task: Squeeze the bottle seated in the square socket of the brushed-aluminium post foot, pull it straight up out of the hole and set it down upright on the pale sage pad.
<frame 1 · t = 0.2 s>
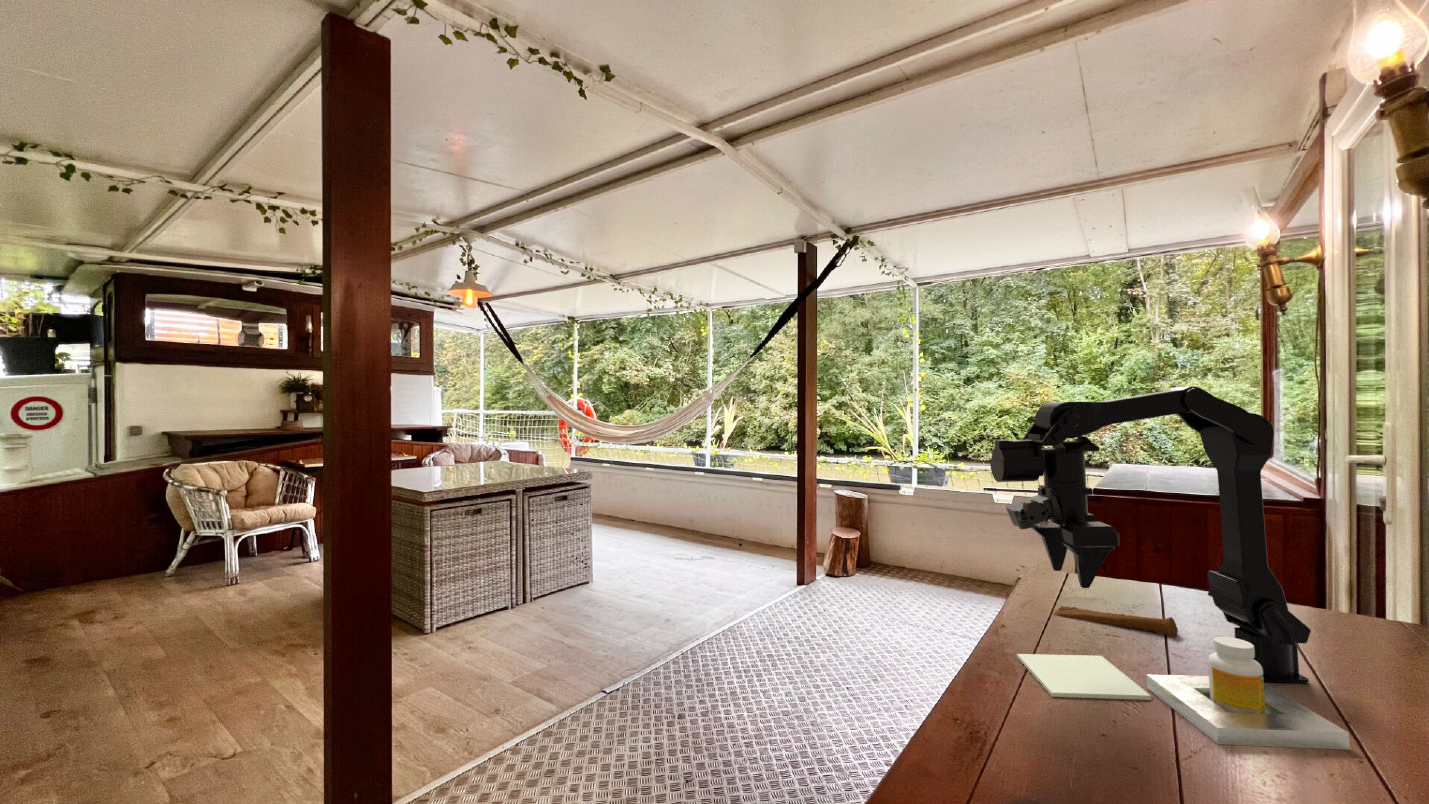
hand: (1070, 578, 89), 14 cm above the table, fingers open, 9 cm apart
post foot: (1237, 715, 75), on the table
primitive tool: (1110, 626, 107), on the table
supplement bottle: (1237, 717, 75), resting in post foot
sage pad: (1078, 676, 87), on the table
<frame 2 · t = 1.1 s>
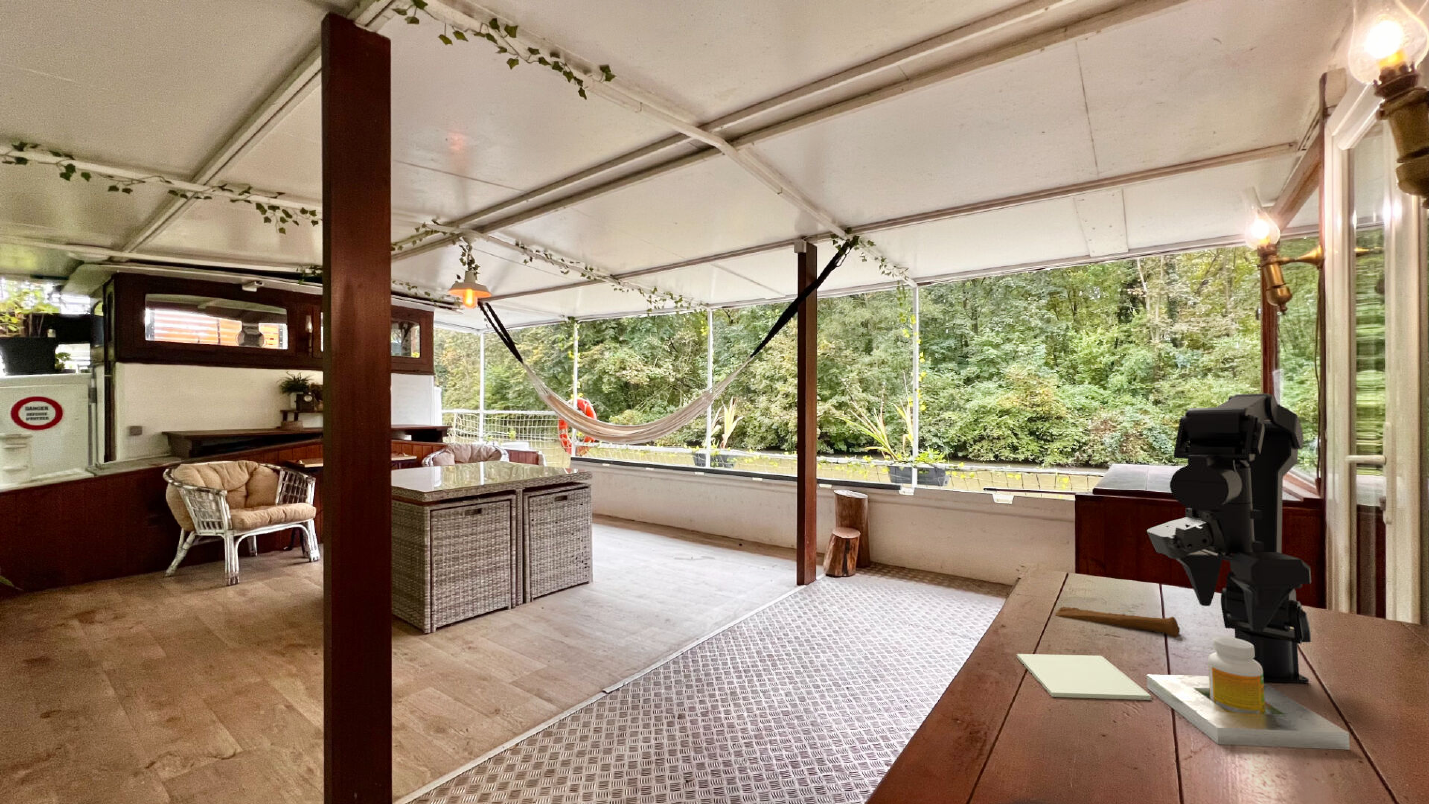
hand: (1229, 617, 75), 13 cm above the table, fingers open, 9 cm apart
nothing on the table moved.
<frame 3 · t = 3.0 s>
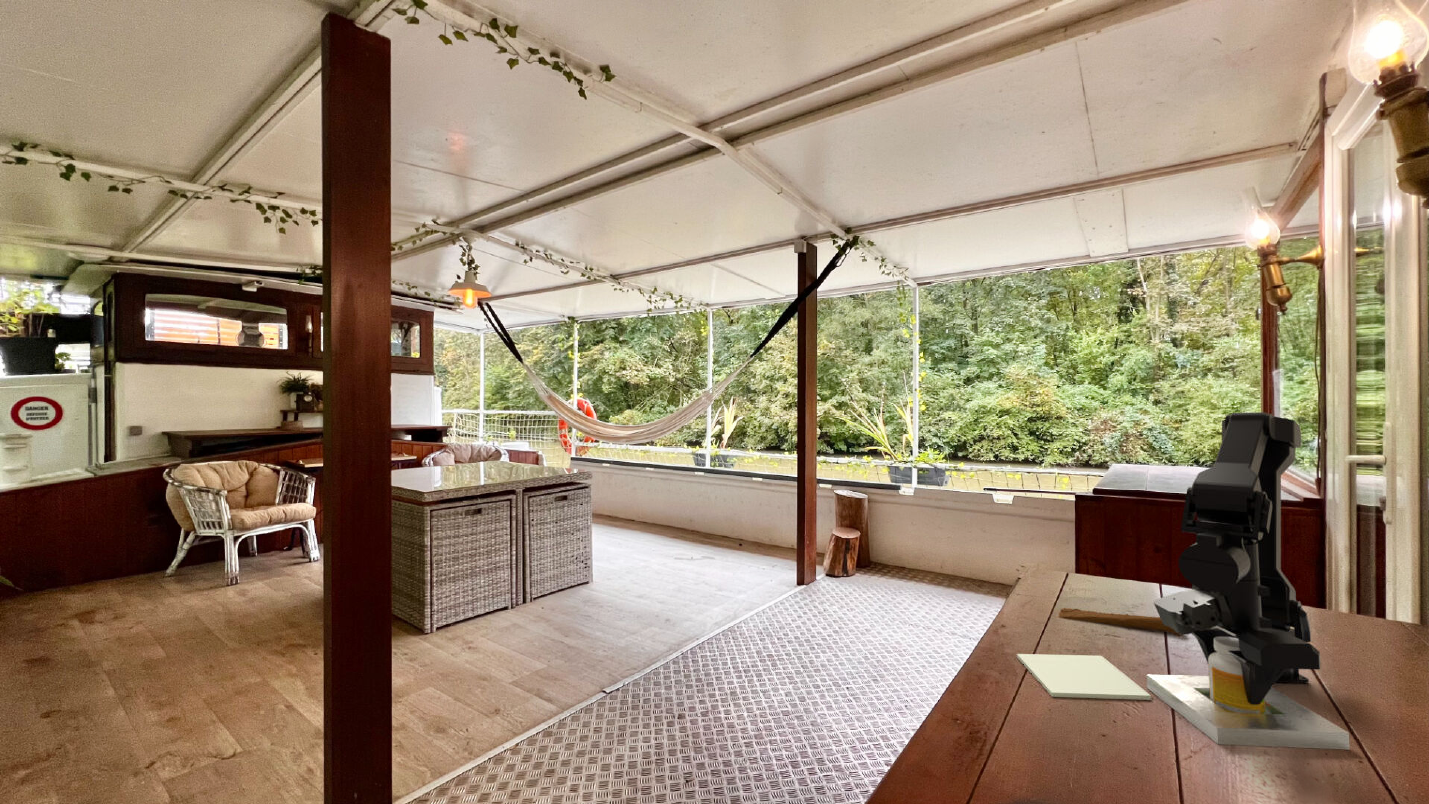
hand: (1236, 692, 75), 3 cm above the table, fingers closed on supplement bottle, 5 cm apart
supplement bottle: (1237, 717, 75), resting in post foot, touching gripper
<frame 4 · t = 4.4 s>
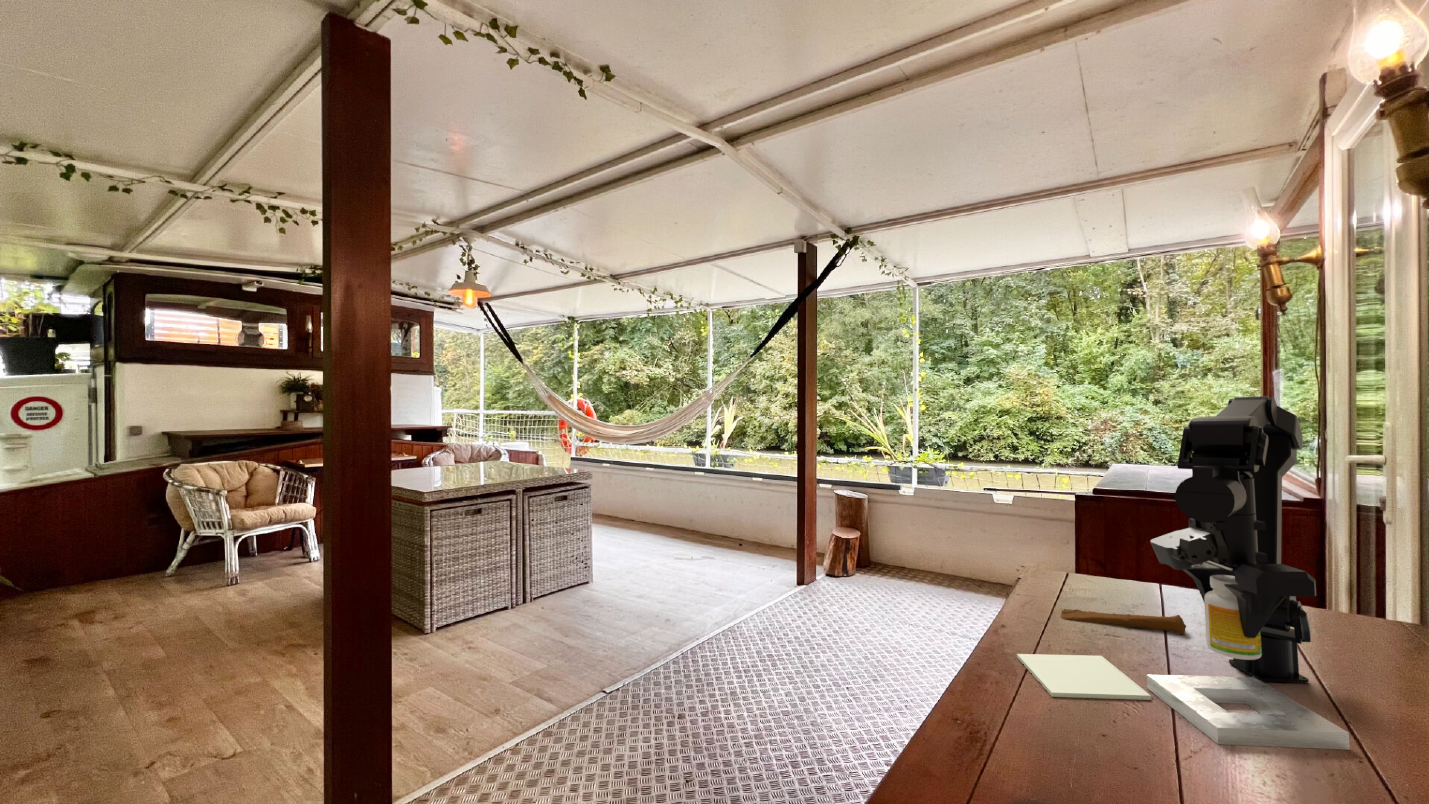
hand: (1232, 628, 75), 11 cm above the table, fingers closed on supplement bottle, 5 cm apart
supplement bottle: (1233, 653, 75), point 8 cm above the table, touching gripper
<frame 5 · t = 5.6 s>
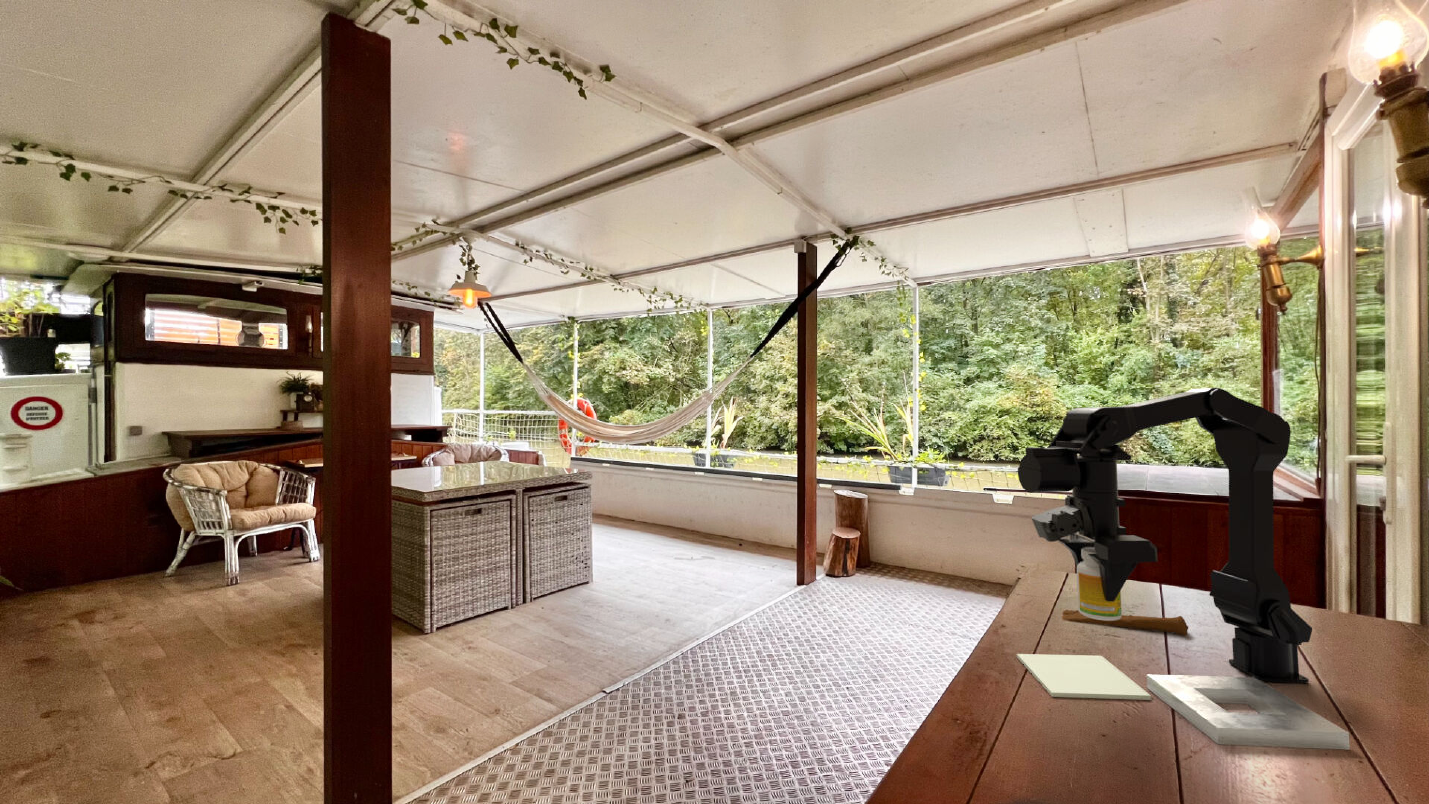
hand: (1098, 594, 85), 13 cm above the table, fingers closed on supplement bottle, 5 cm apart
supplement bottle: (1099, 616, 84), point 10 cm above the table, touching gripper
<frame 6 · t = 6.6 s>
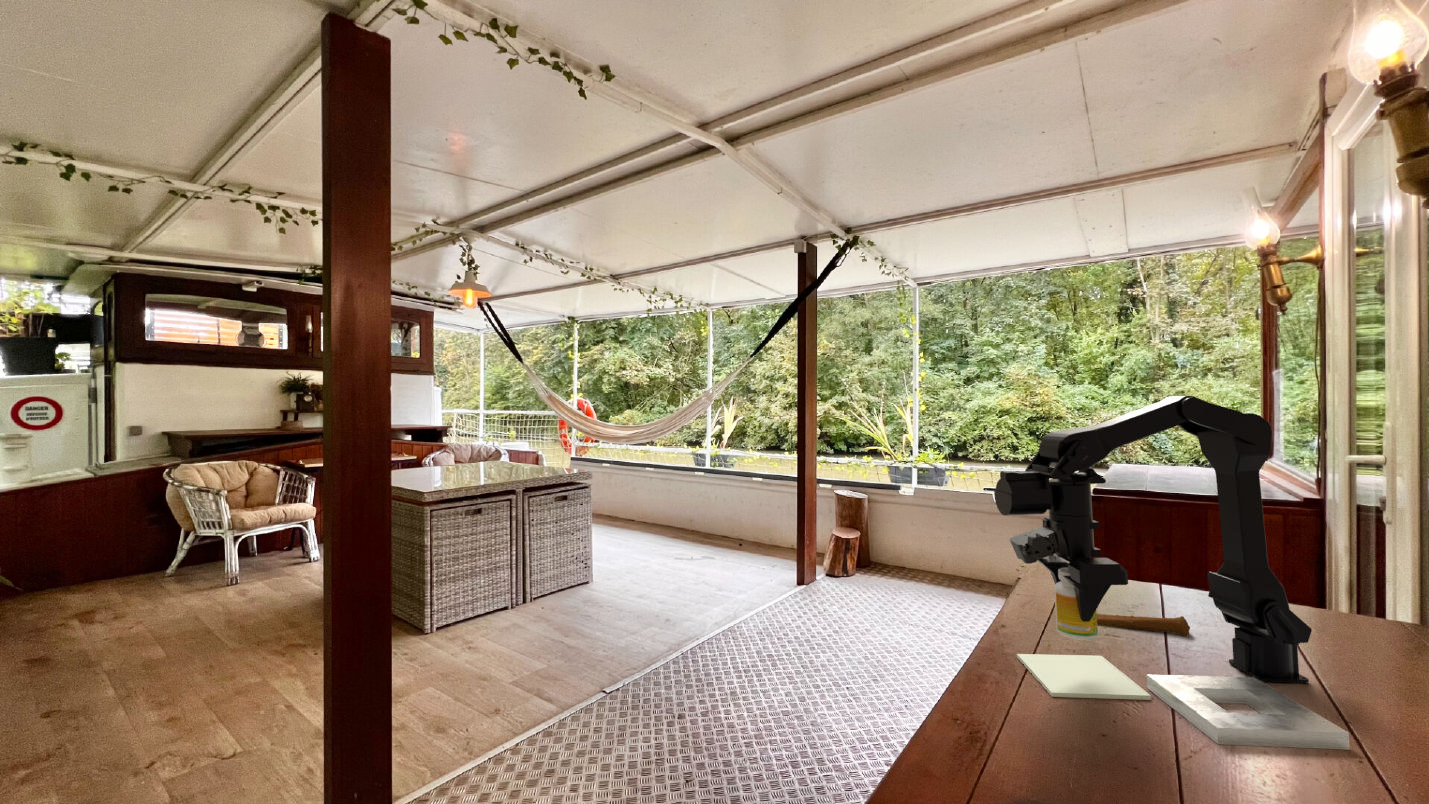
hand: (1076, 614, 87), 10 cm above the table, fingers closed on supplement bottle, 5 cm apart
supplement bottle: (1077, 635, 87), point 6 cm above the table, touching gripper
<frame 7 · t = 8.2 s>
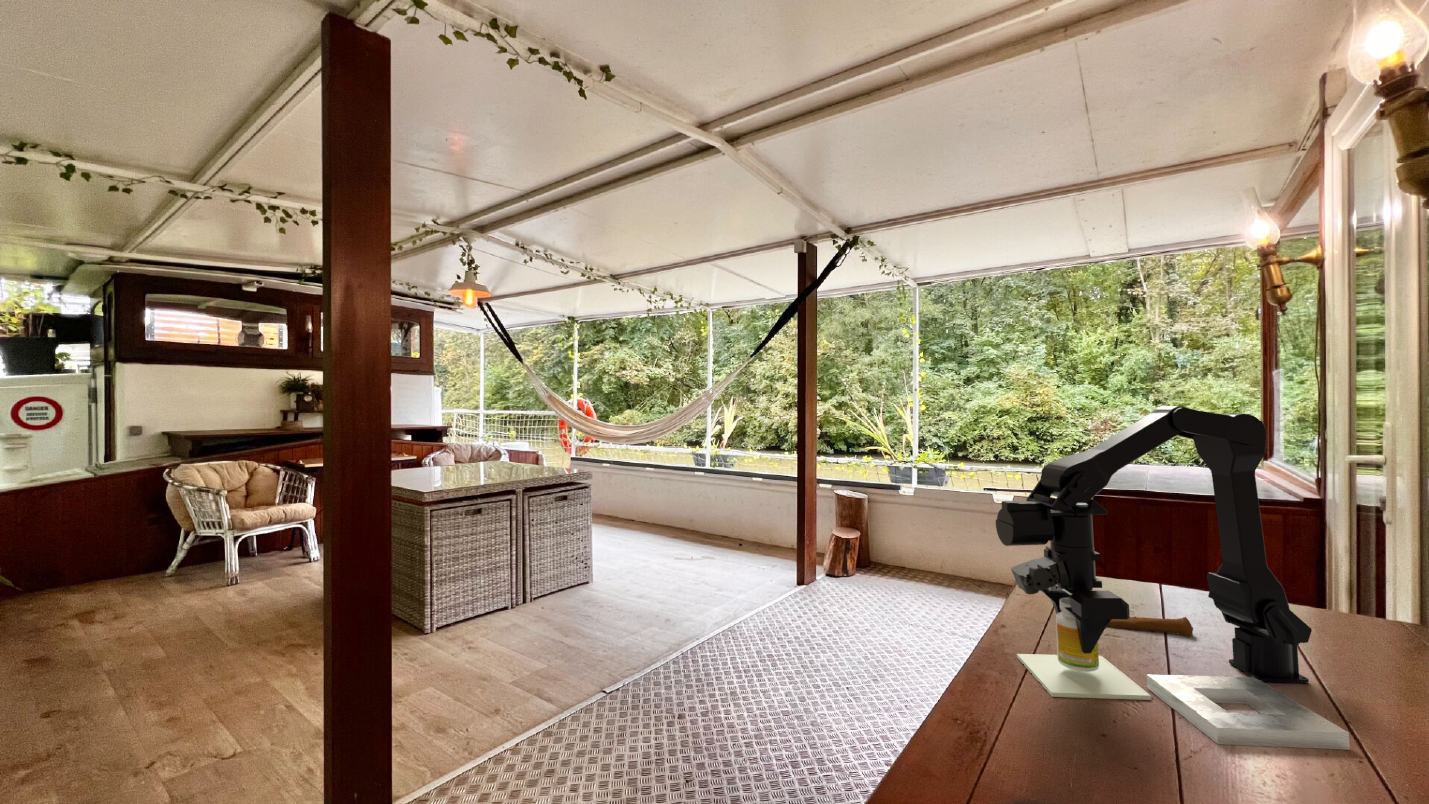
hand: (1077, 644, 87), 5 cm above the table, fingers closed on supplement bottle, 5 cm apart
supplement bottle: (1078, 666, 87), point 2 cm above the table, touching gripper
when the fingers open (5 cm above the table, at t = 8.2 s): supplement bottle drops 1 cm, resting on sage pad.
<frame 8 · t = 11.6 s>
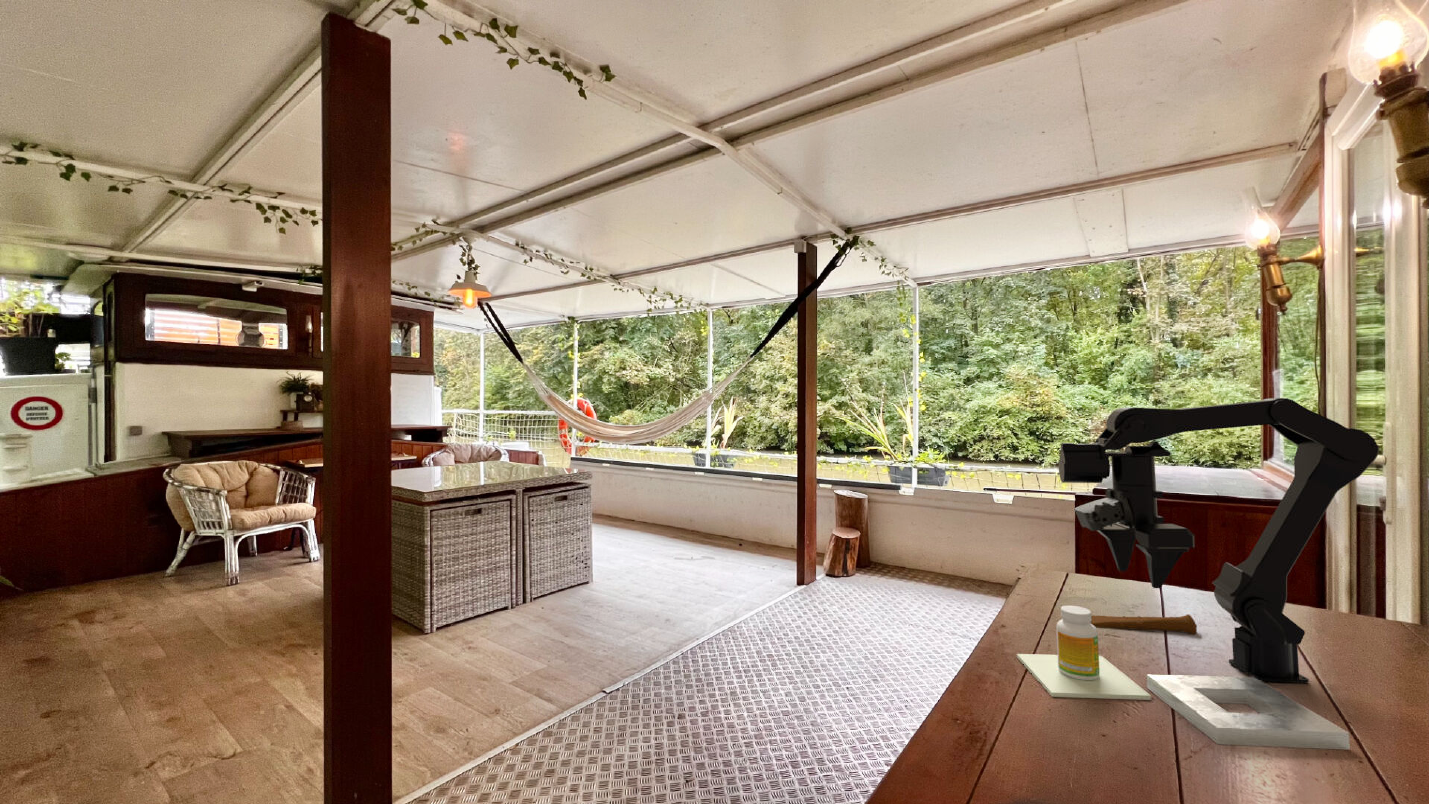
hand: (1138, 579, 92), 13 cm above the table, fingers open, 9 cm apart
supplement bottle: (1078, 674, 87), resting on sage pad
at the end: supplement bottle inside the target area on the sage pad (0.1 cm from its centre), point 0.4 cm above the sage pad's base; supplement bottle tilted 0°; the gripper is holding nothing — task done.
